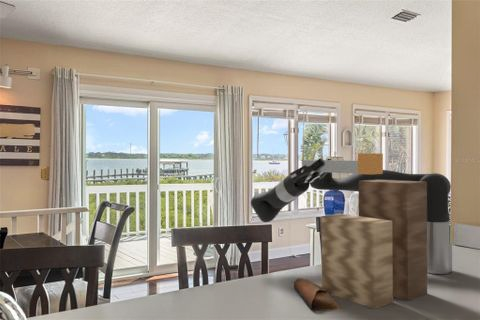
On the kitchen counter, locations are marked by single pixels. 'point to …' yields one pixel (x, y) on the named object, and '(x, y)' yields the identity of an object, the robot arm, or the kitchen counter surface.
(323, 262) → the beige slab
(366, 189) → the walnut stand
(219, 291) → the kitchen counter surface
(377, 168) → the steel pin
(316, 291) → the sunglasses case
